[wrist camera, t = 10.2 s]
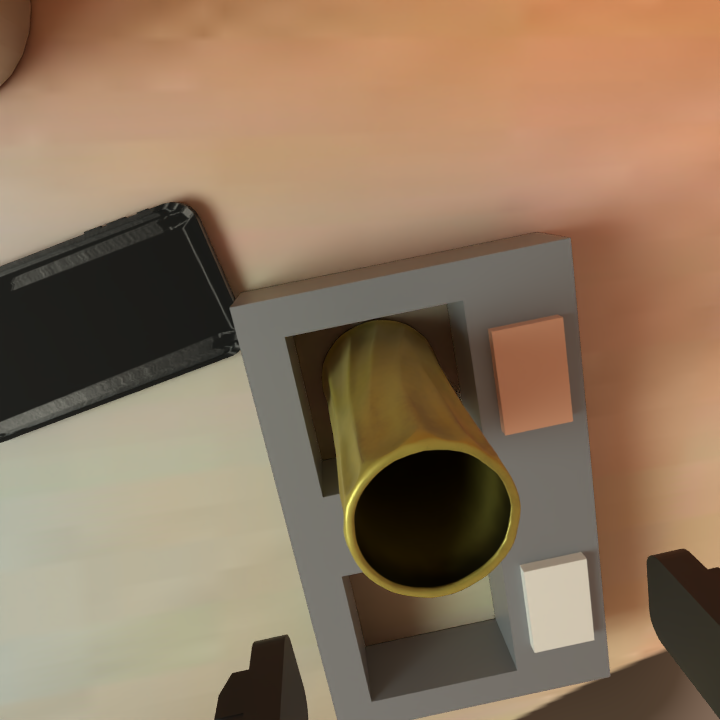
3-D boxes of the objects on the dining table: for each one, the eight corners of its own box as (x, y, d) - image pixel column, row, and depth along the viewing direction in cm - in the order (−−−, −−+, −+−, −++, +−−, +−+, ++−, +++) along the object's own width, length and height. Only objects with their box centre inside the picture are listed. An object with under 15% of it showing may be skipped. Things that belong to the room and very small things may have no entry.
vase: (461, 366, 31) (578, 504, 17) (387, 451, 32) (442, 646, 18) (372, 294, 29) (422, 382, 16) (298, 386, 30) (284, 543, 17)
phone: (253, 347, 29) (-26, 452, 29) (255, 342, 30) (-13, 443, 31) (185, 192, 27) (-115, 307, 27) (190, 192, 28) (-98, 303, 28)
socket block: (241, 292, 29) (227, 310, 25) (537, 232, 29) (576, 238, 25) (338, 676, 36) (341, 744, 31) (578, 624, 36) (615, 685, 32)
